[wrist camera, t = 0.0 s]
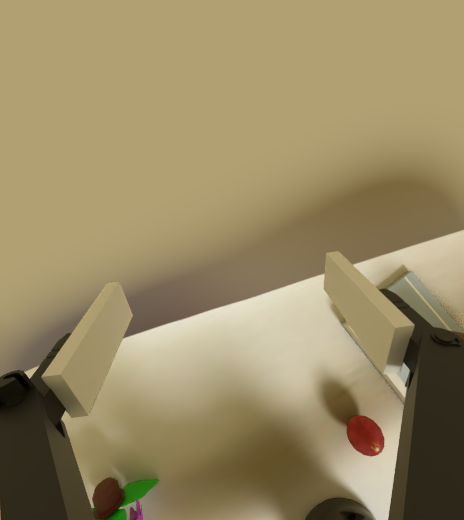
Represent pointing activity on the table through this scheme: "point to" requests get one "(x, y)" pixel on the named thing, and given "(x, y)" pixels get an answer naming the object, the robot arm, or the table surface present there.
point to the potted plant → (119, 499)
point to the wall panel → (423, 305)
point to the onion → (365, 435)
